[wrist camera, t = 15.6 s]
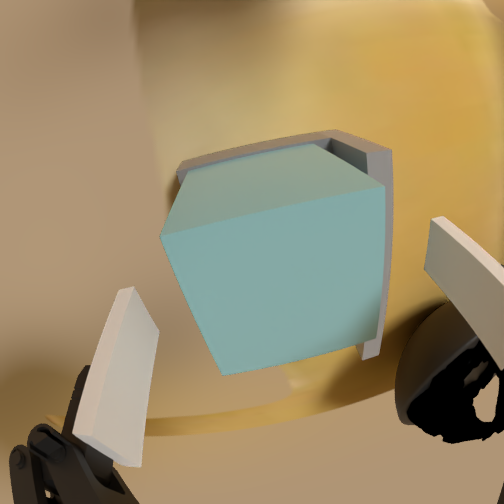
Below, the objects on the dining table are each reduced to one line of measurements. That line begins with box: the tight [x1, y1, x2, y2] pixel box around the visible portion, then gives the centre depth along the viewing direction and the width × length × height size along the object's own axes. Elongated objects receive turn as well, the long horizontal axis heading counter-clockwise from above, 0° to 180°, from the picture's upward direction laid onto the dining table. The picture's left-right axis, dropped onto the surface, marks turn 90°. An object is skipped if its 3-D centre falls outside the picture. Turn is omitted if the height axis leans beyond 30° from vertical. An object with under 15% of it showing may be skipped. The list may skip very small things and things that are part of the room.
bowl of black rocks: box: [395, 301, 504, 444], centre depth 24 cm, size 20×20×19 cm
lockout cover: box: [160, 144, 385, 376], centre depth 15 cm, size 8×8×9 cm
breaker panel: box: [176, 129, 393, 360], centre depth 20 cm, size 16×12×8 cm
